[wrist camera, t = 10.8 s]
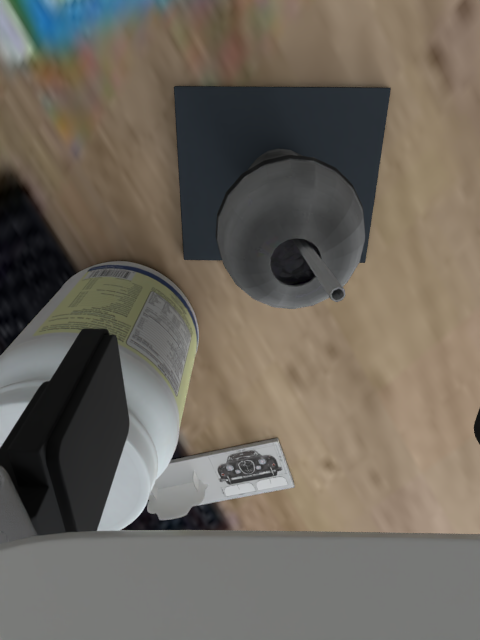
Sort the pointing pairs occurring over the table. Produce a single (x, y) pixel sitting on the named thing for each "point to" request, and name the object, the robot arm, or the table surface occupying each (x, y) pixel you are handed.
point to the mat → (270, 144)
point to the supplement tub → (136, 361)
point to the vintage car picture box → (219, 478)
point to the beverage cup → (291, 230)
